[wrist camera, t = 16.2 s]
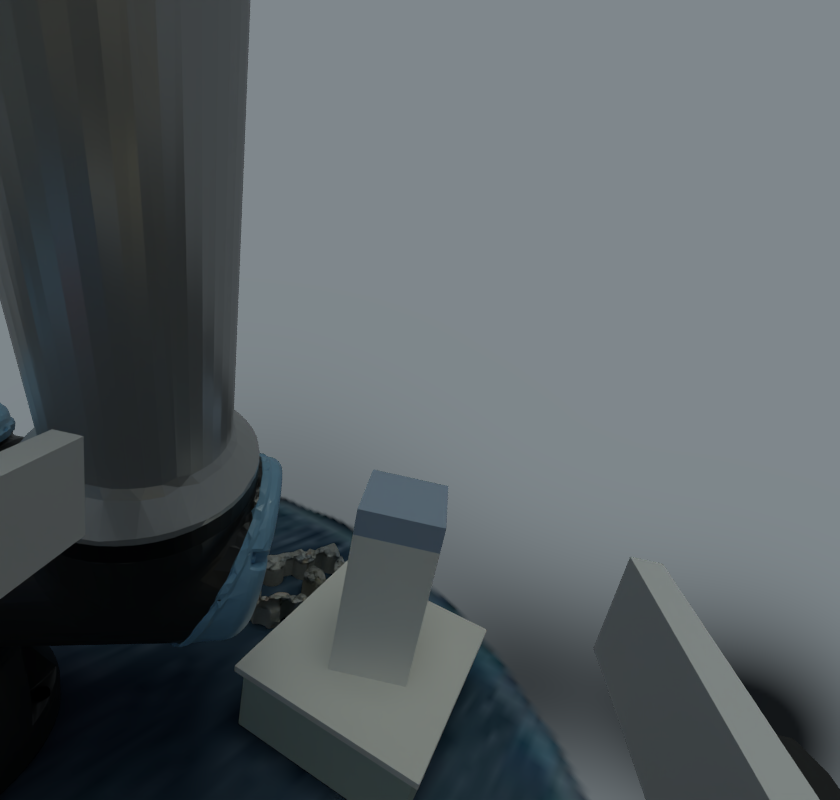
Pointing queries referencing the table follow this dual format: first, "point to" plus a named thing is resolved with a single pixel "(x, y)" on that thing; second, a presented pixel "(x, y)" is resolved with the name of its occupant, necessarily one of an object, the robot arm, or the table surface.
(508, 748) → the table surface
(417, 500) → the milk carton
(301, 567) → the egg carton
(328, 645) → the podium
